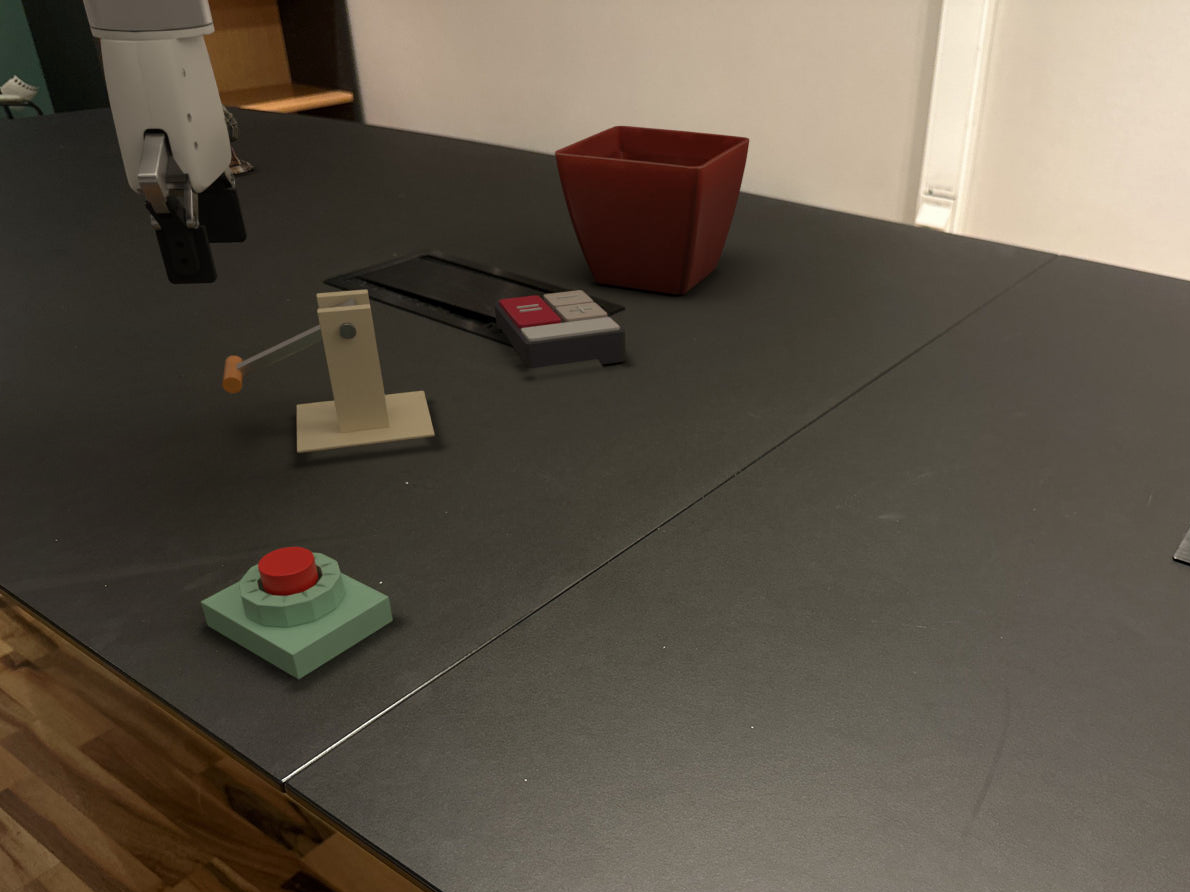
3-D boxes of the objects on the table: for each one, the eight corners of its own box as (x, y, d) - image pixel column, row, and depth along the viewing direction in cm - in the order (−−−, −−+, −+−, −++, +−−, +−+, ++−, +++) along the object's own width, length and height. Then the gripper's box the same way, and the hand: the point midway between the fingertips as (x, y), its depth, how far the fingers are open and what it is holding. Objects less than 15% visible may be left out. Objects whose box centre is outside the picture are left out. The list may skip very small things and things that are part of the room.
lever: (232, 400, 92) (215, 378, 90) (234, 377, 96) (218, 356, 94) (369, 334, 93) (354, 311, 91) (366, 314, 97) (352, 292, 95)
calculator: (584, 286, 124) (625, 323, 113) (586, 321, 127) (627, 361, 115) (492, 296, 121) (525, 336, 109) (496, 333, 123) (528, 375, 111)
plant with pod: (207, 180, 175) (176, 49, 164) (198, 165, 183) (168, 39, 172) (259, 175, 178) (232, 46, 167) (247, 161, 186) (221, 37, 175)
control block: (207, 626, 74) (193, 580, 72) (303, 574, 79) (292, 530, 77) (298, 680, 69) (286, 632, 67) (393, 621, 75) (385, 575, 73)
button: (252, 585, 72) (246, 563, 71) (296, 561, 74) (291, 540, 74) (285, 603, 70) (280, 581, 69) (329, 578, 73) (325, 557, 72)
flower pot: (620, 247, 150) (616, 122, 141) (747, 264, 145) (752, 136, 135) (559, 288, 134) (550, 151, 125) (698, 309, 129) (700, 168, 120)
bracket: (299, 462, 94) (269, 327, 87) (298, 415, 102) (271, 287, 95) (436, 445, 98) (418, 313, 91) (425, 401, 105) (407, 276, 99)
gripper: (129, -5, 77) (189, 229, 86) (38, 25, 63) (121, 302, 72) (237, -4, 78) (284, 227, 87) (172, 26, 64) (237, 298, 73)
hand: (211, 260), depth 80 cm, fingers open, 9 cm apart
